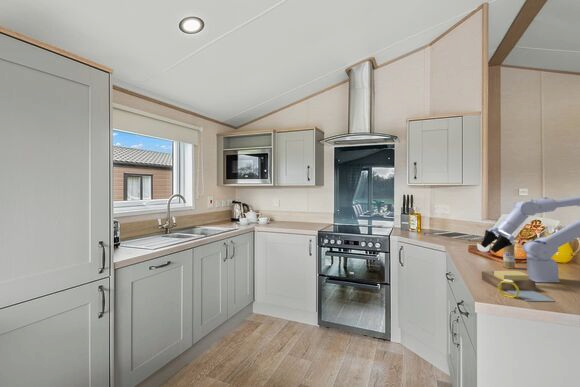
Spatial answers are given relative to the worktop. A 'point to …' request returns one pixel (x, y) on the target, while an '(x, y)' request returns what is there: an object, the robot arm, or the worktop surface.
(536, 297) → the mat
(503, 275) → the yellow butter block
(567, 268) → the worktop surface
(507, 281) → the watch
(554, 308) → the worktop surface
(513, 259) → the sprinkles bottle
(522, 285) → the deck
